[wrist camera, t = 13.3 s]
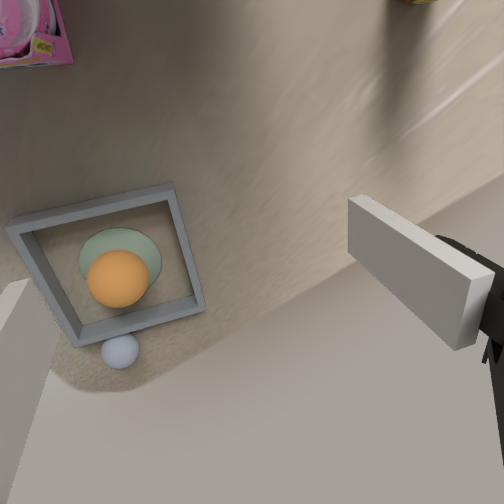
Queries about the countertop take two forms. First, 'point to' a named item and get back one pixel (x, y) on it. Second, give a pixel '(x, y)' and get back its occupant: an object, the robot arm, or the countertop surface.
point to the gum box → (32, 34)
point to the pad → (121, 241)
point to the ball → (117, 278)
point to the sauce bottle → (417, 1)
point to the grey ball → (120, 351)
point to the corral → (54, 293)
